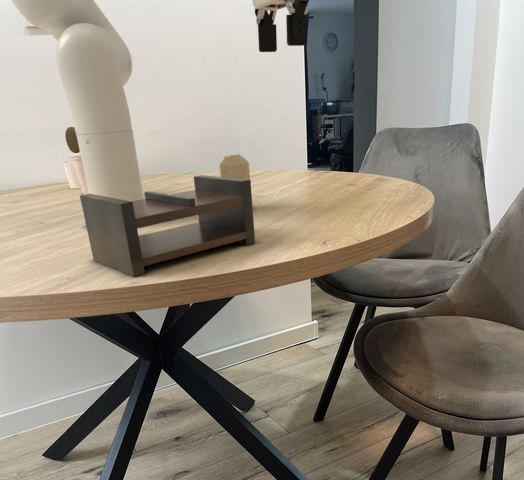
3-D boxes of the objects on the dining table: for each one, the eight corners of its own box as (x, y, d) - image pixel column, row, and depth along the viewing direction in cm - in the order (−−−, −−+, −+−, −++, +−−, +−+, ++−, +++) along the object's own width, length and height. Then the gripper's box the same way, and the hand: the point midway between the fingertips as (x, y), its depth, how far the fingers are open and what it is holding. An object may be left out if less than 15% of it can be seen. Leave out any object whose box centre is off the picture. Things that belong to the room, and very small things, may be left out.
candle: (248, 211, 97) (244, 156, 93) (220, 212, 98) (215, 157, 94) (254, 206, 102) (251, 152, 97) (228, 207, 103) (223, 154, 99)
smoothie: (84, 191, 136) (72, 135, 130) (107, 190, 135) (96, 133, 129) (73, 196, 131) (60, 137, 124) (97, 195, 130) (85, 135, 124)
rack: (93, 260, 72) (79, 195, 69) (208, 232, 84) (201, 174, 80) (134, 277, 64) (120, 203, 60) (255, 243, 75) (250, 179, 71)
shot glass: (63, 189, 144) (57, 163, 141) (75, 185, 150) (69, 160, 147) (86, 188, 143) (80, 161, 140) (97, 184, 149) (92, 159, 146)
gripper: (231, -70, 81) (239, 54, 89) (283, -108, 67) (287, 42, 75) (273, -66, 84) (277, 53, 92) (331, -102, 70) (330, 42, 78)
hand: (281, 48), depth 83 cm, fingers open, 9 cm apart
